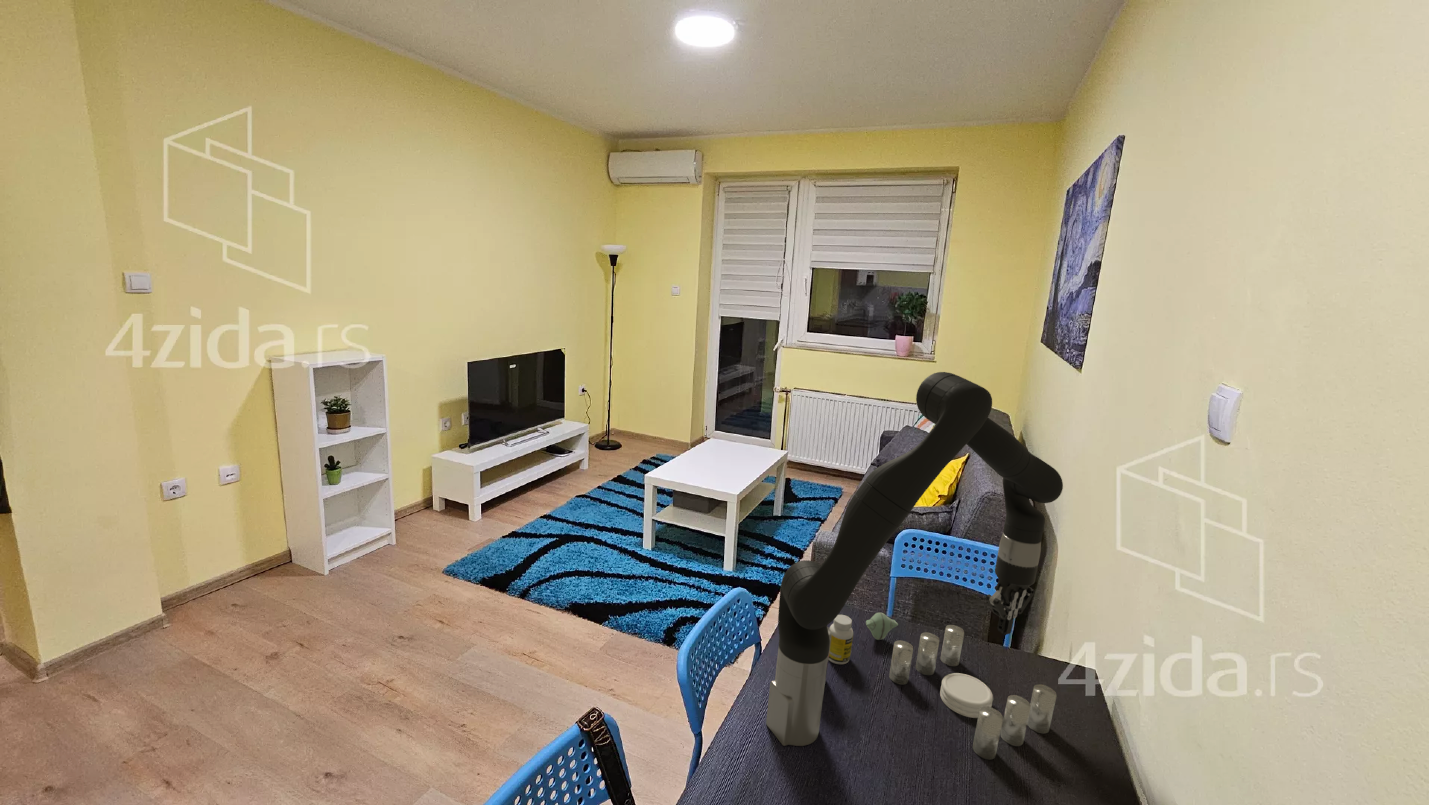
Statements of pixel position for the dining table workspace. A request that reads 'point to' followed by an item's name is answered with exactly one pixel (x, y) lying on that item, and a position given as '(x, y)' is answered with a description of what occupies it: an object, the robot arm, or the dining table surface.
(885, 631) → the pale green rounded piece
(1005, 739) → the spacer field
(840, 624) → the supplement bottle
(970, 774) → the dining table surface
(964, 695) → the white round lidded container
